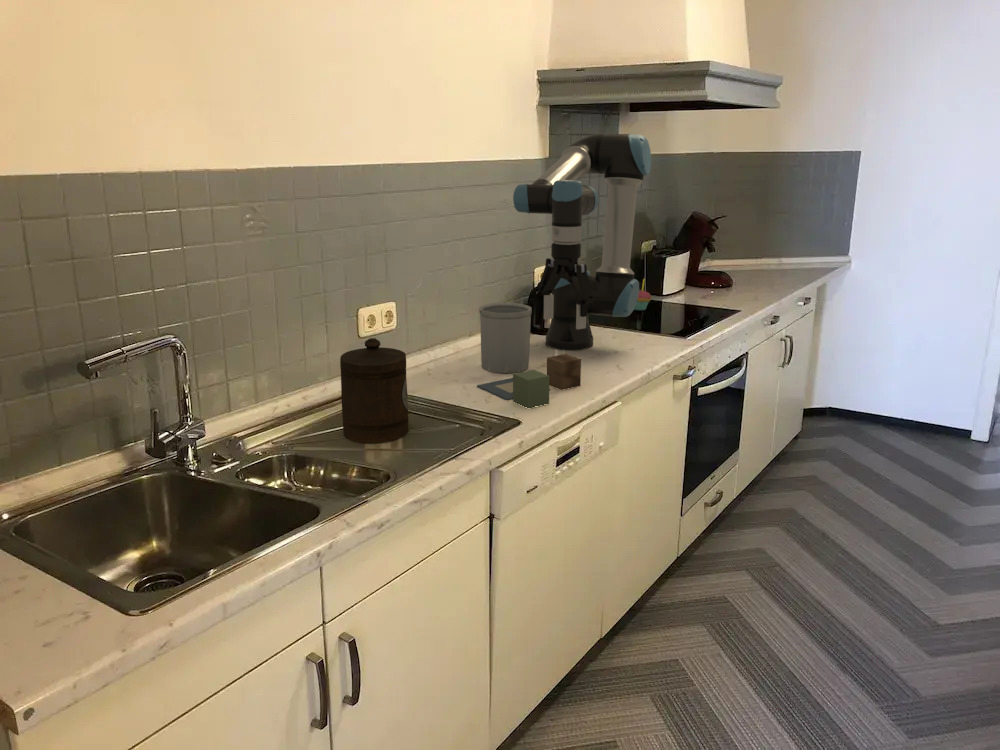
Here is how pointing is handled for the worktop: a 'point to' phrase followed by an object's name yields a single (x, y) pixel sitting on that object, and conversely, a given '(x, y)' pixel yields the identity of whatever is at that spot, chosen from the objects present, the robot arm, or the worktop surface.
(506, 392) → the blue square frame
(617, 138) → the robot arm
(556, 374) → the walnut block
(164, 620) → the worktop surface
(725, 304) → the worktop surface
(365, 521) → the worktop surface
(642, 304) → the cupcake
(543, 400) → the olive block
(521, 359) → the utensil holder
